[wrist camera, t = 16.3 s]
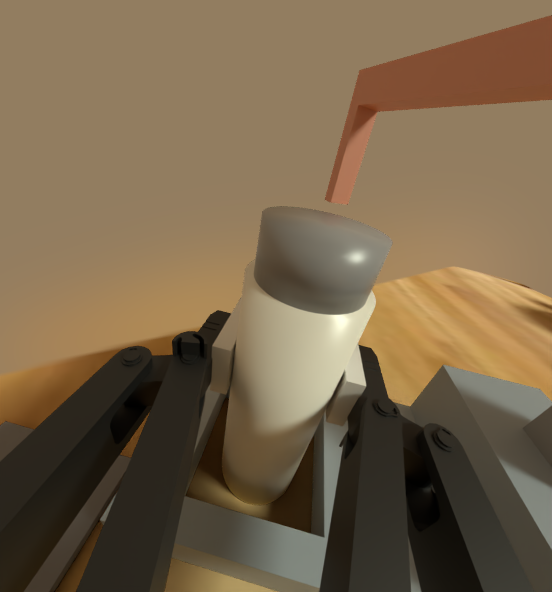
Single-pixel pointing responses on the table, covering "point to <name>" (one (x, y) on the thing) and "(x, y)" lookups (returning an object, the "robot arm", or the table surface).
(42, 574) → the mat
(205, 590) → the table surface
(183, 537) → the dock
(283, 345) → the bottle
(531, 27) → the pink bent bar
